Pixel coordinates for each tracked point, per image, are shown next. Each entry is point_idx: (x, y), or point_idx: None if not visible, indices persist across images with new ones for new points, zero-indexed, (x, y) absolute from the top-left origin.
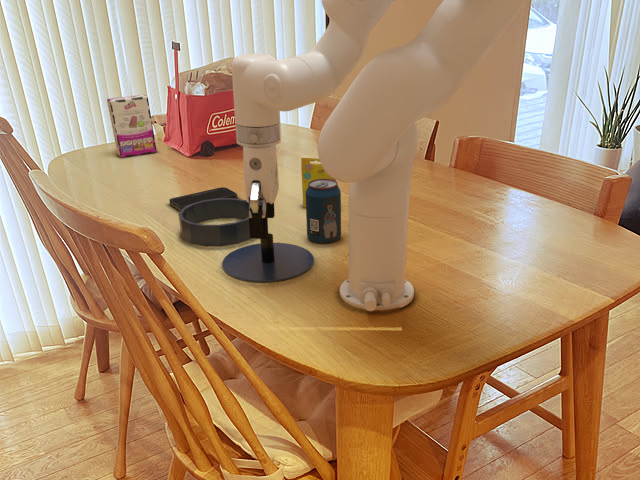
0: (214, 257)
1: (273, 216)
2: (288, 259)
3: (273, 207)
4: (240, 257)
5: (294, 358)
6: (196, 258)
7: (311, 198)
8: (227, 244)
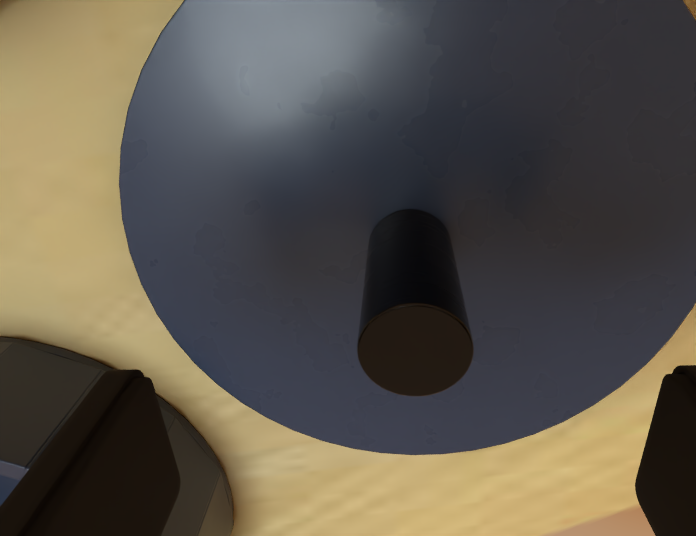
0: (322, 475)
1: (143, 381)
2: (391, 114)
3: (78, 455)
4: (372, 390)
5: None
6: (340, 528)
7: None
8: (201, 457)
